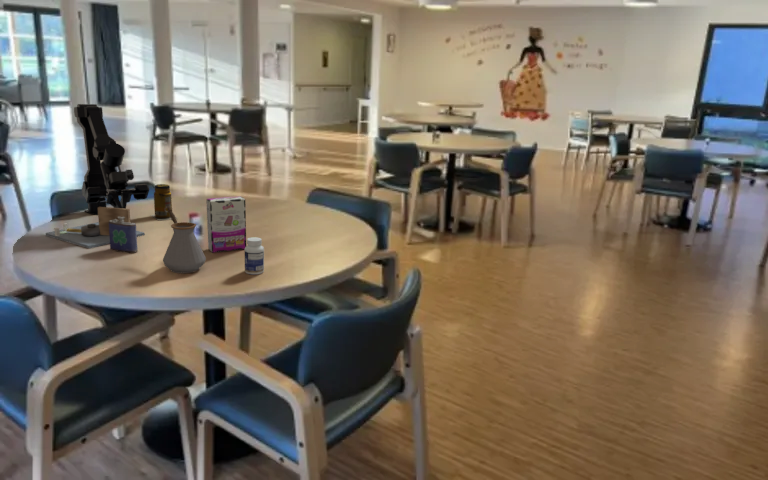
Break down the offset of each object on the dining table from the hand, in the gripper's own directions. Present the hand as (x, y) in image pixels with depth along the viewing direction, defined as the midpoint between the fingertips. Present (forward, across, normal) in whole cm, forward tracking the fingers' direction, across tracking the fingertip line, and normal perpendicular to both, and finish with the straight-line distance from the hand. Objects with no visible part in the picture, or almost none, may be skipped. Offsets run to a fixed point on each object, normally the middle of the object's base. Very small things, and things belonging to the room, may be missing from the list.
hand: (123, 215), depth 188 cm
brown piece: (+2, -7, +6) cm, 10 cm away
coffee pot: (+29, +6, -19) cm, 35 cm away
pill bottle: (+40, +22, -30) cm, 55 cm away
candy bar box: (+24, +24, -14) cm, 36 cm away
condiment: (-9, +19, +20) cm, 29 cm away
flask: (+15, -4, -5) cm, 17 cm away
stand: (+1, -8, +10) cm, 12 cm away
